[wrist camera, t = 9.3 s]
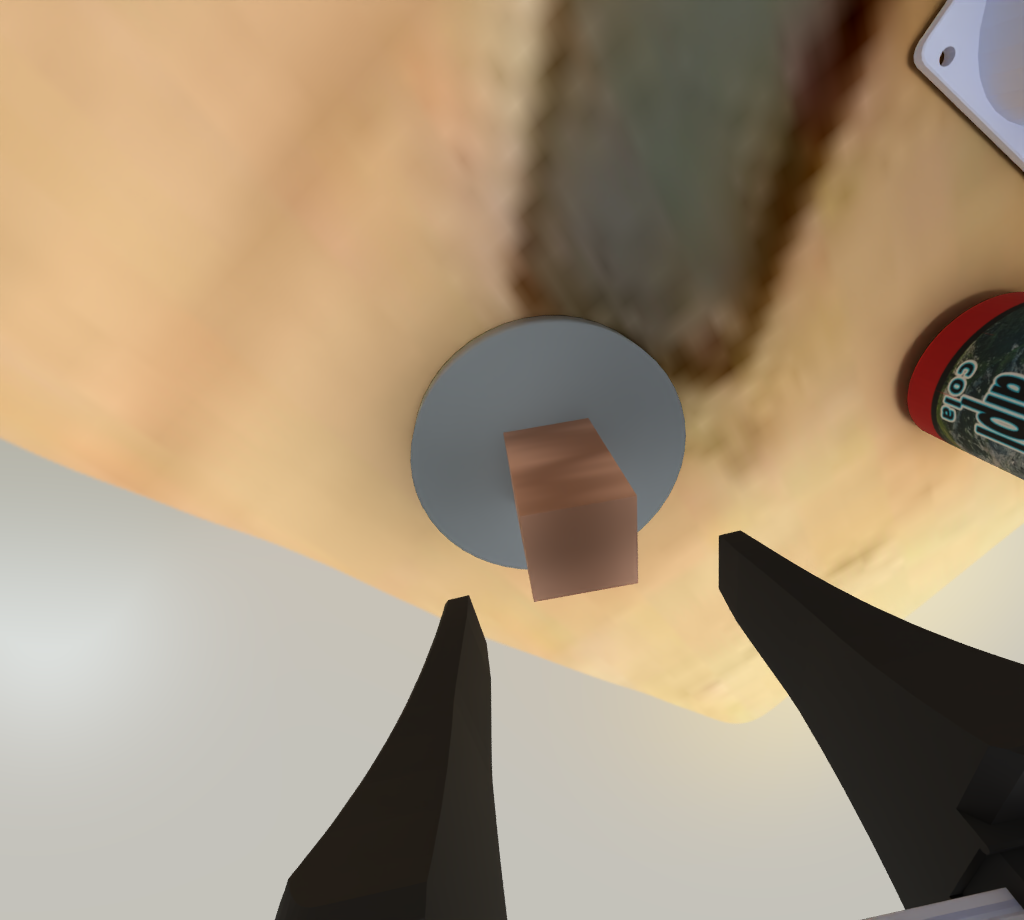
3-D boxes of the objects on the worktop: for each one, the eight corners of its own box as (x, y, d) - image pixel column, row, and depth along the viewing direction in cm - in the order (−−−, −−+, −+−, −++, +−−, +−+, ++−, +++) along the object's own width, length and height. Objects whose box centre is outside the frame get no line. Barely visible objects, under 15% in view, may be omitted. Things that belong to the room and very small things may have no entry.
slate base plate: (723, 388, 21) (741, 400, 20) (586, 576, 25) (593, 596, 24) (484, 259, 17) (486, 263, 16) (375, 504, 22) (370, 523, 21)
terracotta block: (588, 417, 19) (637, 495, 14) (592, 489, 21) (638, 582, 16) (503, 432, 19) (519, 516, 14) (515, 503, 21) (534, 602, 16)
